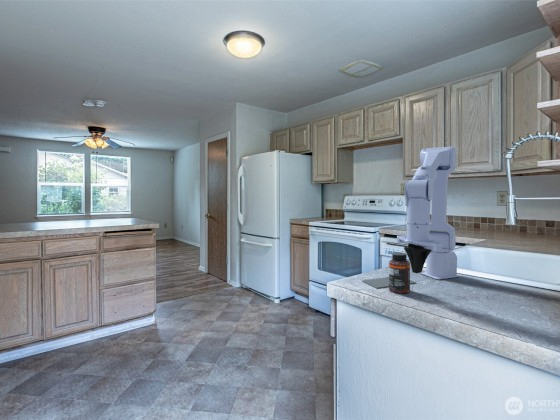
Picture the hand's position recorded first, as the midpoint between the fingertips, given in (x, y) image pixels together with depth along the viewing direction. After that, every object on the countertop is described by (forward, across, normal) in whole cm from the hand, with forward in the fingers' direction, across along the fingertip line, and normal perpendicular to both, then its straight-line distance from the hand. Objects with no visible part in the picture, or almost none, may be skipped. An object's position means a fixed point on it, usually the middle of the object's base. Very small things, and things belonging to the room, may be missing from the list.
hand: (417, 272), depth 86 cm
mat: (+7, -15, +2) cm, 17 cm away
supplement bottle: (+8, -7, 0) cm, 10 cm away
